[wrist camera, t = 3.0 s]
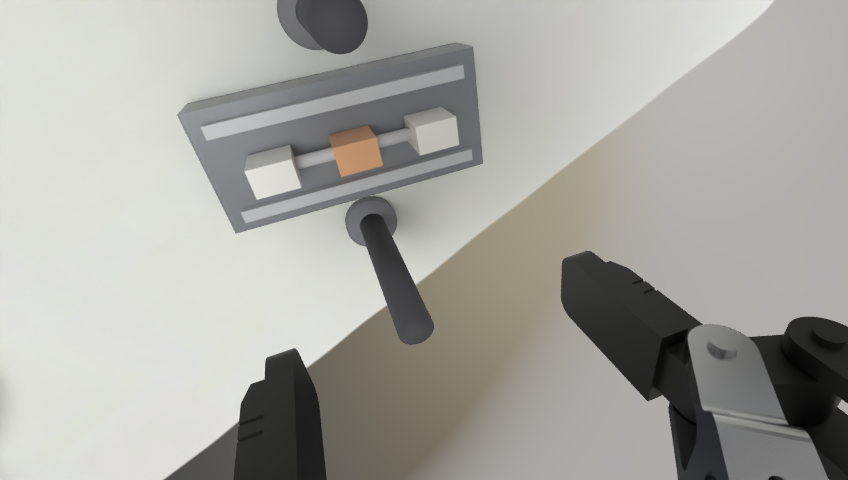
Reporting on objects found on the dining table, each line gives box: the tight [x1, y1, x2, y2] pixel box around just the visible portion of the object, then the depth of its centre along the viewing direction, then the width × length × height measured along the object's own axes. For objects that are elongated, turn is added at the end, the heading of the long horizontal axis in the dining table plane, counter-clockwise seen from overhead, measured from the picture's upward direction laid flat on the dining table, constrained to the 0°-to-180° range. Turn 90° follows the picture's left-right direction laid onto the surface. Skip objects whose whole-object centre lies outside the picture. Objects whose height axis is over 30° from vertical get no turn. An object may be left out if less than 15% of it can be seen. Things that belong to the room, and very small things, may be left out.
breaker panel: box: [177, 43, 483, 233], centre depth 27 cm, size 18×8×4 cm, turn 100°
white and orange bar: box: [244, 107, 459, 200], centre depth 25 cm, size 13×2×3 cm, turn 100°
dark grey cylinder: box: [277, 0, 368, 54], centre depth 19 cm, size 4×4×14 cm
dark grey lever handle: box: [345, 197, 434, 345], centre depth 27 cm, size 4×4×14 cm
